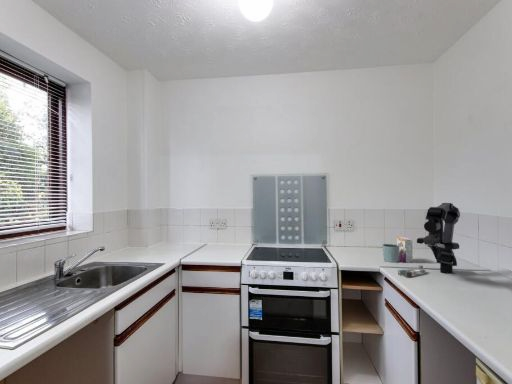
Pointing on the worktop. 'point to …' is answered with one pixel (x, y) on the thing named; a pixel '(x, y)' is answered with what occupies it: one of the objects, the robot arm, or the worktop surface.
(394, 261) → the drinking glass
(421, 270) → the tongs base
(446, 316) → the worktop surface
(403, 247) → the candy bar box
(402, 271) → the hinged jaw
